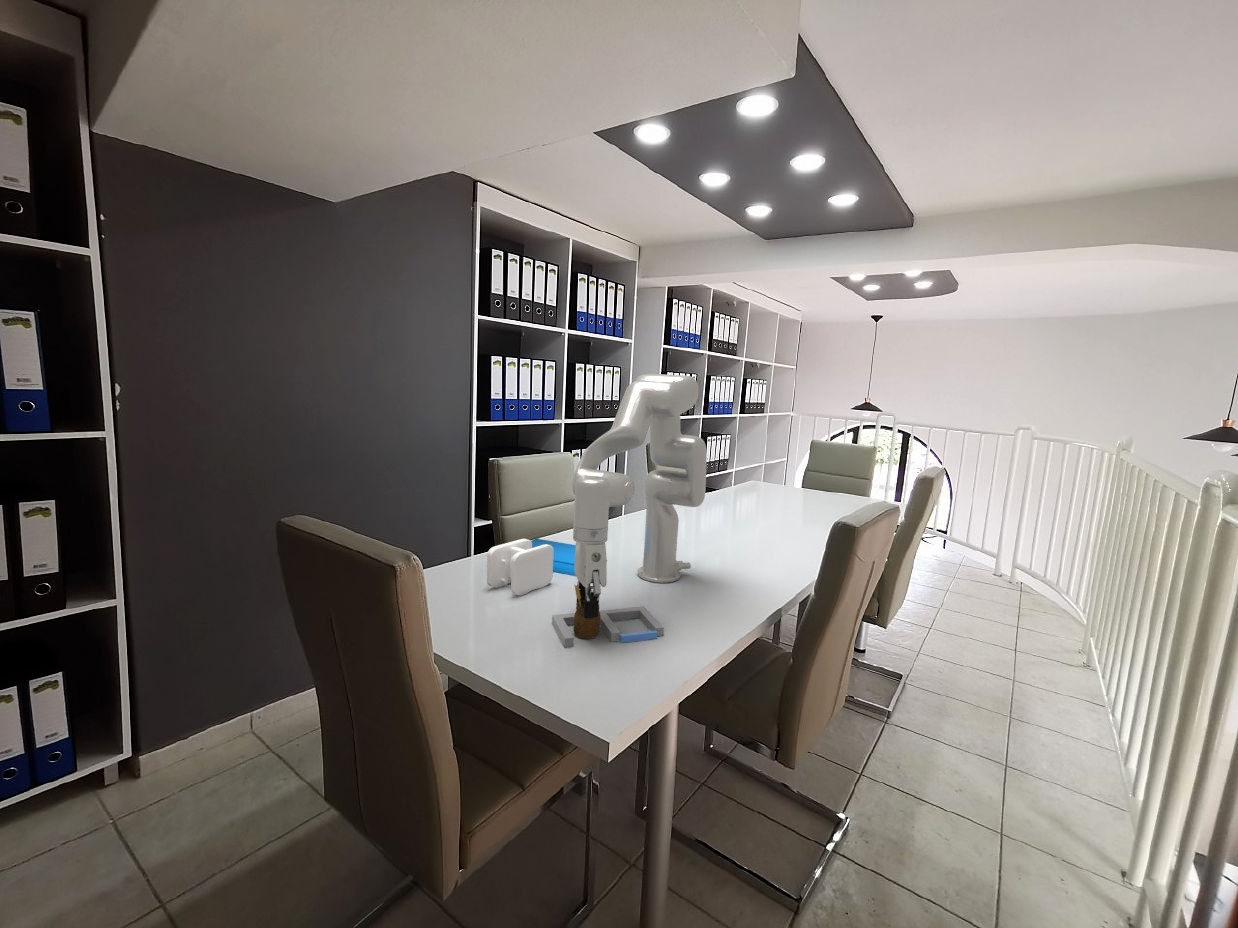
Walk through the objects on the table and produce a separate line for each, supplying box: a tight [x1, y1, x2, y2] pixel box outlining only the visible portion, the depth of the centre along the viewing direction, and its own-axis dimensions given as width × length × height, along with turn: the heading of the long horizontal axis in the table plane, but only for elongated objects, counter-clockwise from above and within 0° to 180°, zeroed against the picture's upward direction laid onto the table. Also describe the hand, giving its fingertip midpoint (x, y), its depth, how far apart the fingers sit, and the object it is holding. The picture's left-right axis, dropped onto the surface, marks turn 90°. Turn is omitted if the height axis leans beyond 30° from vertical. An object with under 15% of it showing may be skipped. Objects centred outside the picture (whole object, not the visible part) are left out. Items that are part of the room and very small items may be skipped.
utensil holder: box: [573, 584, 602, 640], centre depth 124 cm, size 6×6×12 cm
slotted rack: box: [551, 605, 665, 648], centre depth 127 cm, size 23×13×2 cm, turn 110°
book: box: [530, 538, 576, 577], centre depth 171 cm, size 17×4×25 cm
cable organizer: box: [486, 538, 554, 596], centre depth 150 cm, size 15×11×12 cm
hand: (587, 610), depth 124 cm, fingers closed on utensil holder, 5 cm apart
